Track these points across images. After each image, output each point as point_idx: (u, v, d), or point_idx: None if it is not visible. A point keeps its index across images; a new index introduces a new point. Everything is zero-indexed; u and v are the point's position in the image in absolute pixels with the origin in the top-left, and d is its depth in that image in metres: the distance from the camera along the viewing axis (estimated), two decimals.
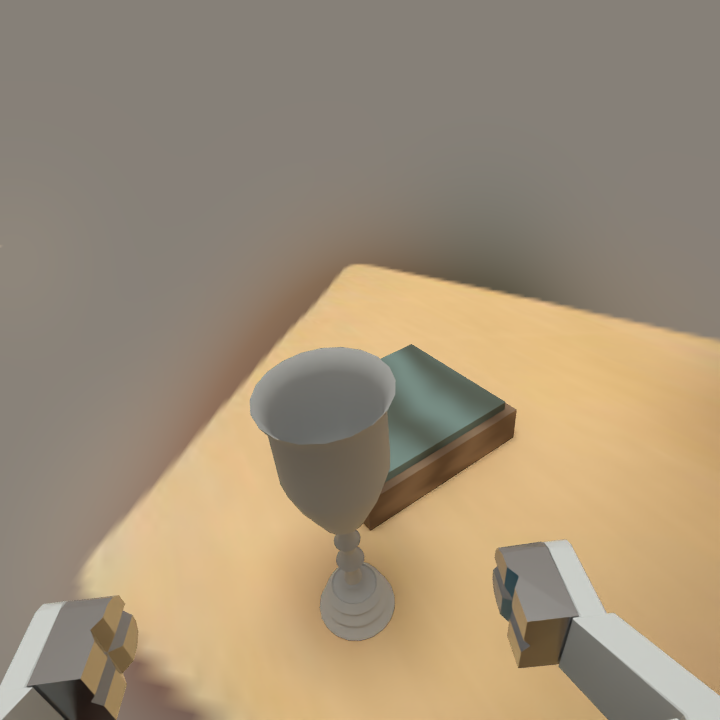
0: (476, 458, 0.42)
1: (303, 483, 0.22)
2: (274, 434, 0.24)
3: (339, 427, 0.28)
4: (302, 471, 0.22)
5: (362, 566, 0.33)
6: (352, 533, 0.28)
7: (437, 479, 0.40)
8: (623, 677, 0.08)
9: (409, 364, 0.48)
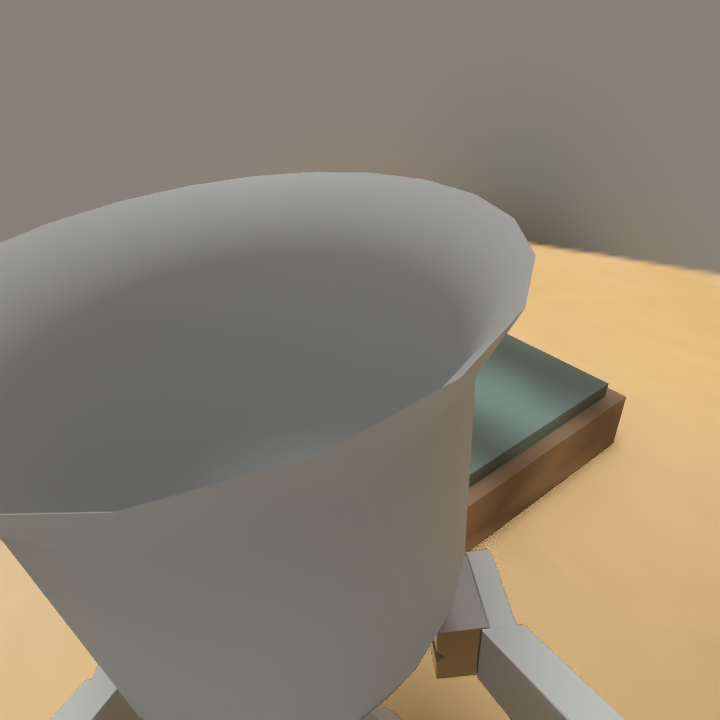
0: (559, 478, 0.25)
1: (114, 659, 0.05)
2: (72, 437, 0.07)
3: (312, 418, 0.11)
4: (89, 619, 0.04)
5: None
6: None
7: (498, 517, 0.23)
8: (526, 690, 0.08)
9: None
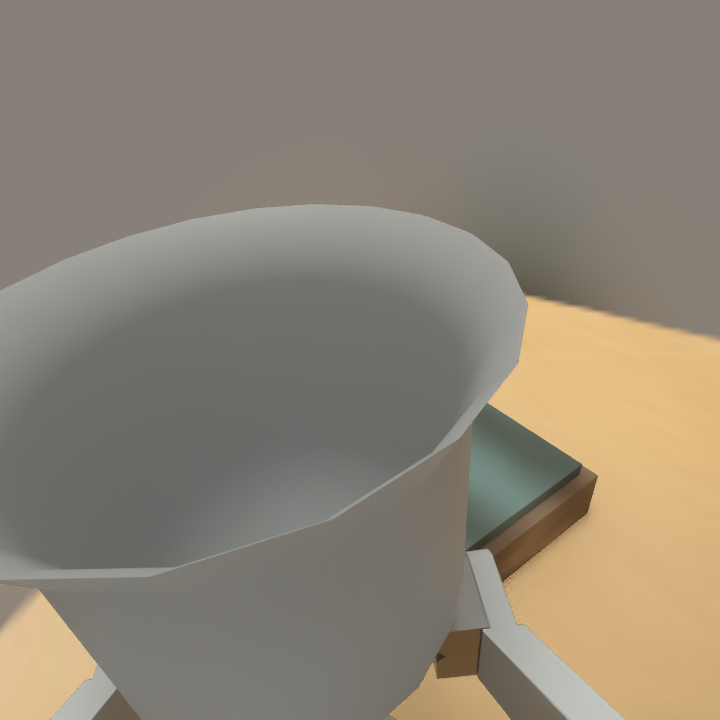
0: (537, 549, 0.28)
1: (134, 686, 0.05)
2: (86, 466, 0.07)
3: (315, 437, 0.11)
4: (112, 651, 0.05)
5: None
6: None
7: None
8: (526, 689, 0.08)
9: None
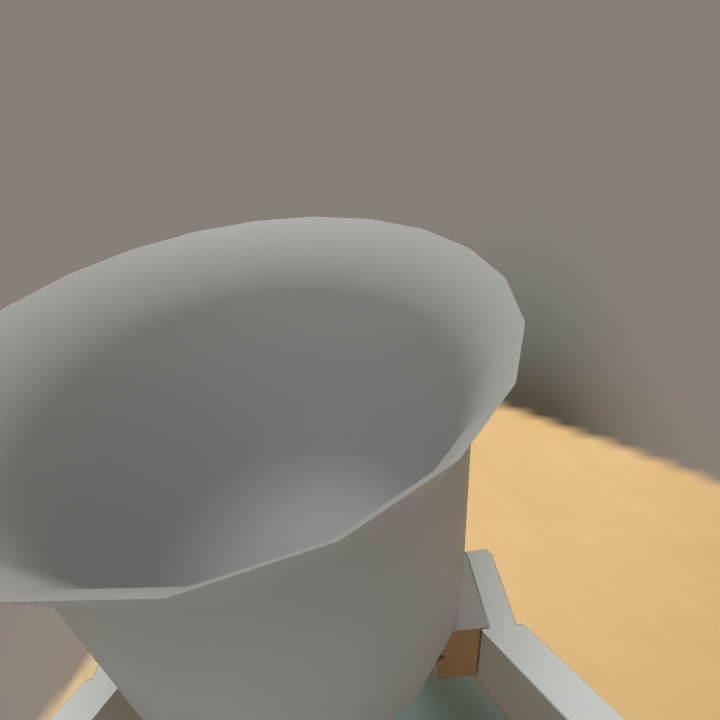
0: None
1: (143, 696, 0.05)
2: (91, 477, 0.07)
3: (315, 445, 0.11)
4: (123, 663, 0.05)
5: None
6: None
7: None
8: (526, 690, 0.08)
9: None
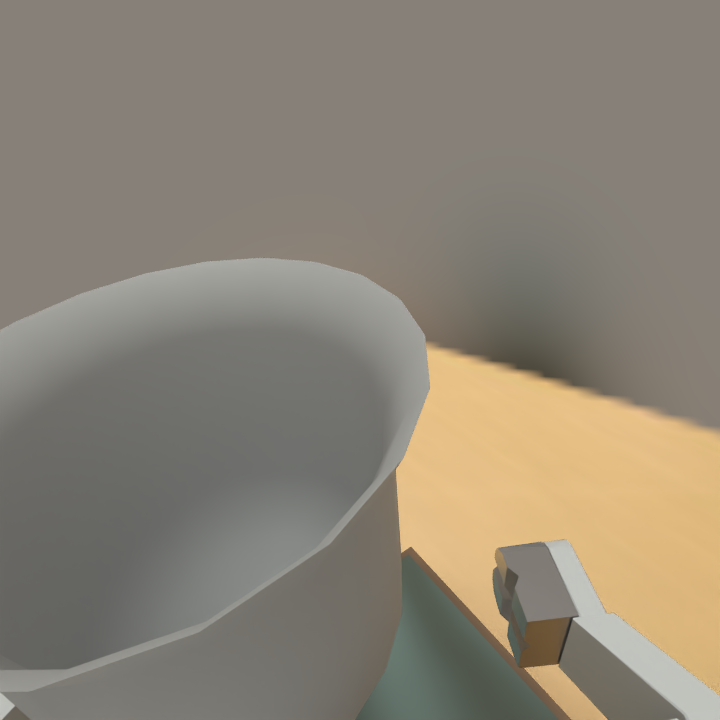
0: None
1: None
2: (38, 518, 0.08)
3: (274, 471, 0.12)
4: (41, 717, 0.05)
5: None
6: None
7: None
8: (623, 677, 0.08)
9: (402, 630, 0.21)
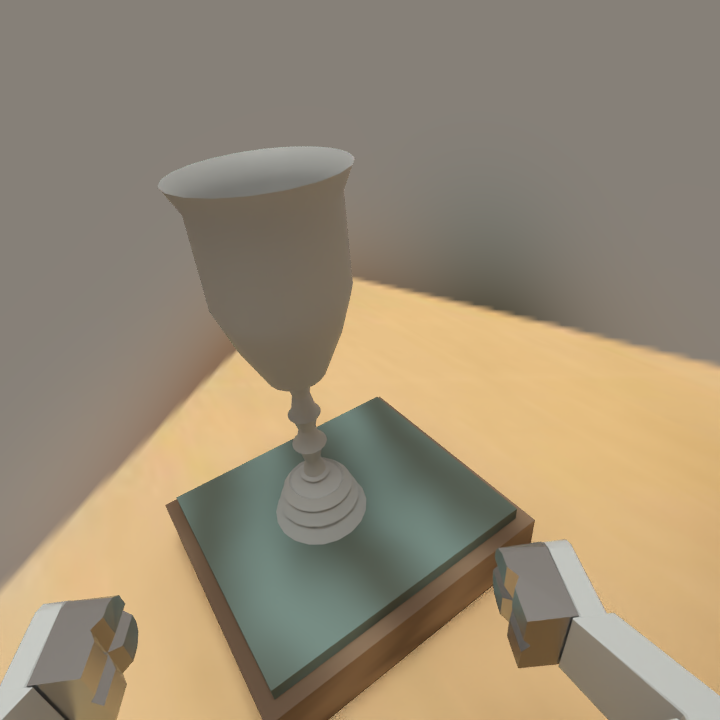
0: (469, 600, 0.26)
1: (230, 284, 0.17)
2: None
3: None
4: (227, 262, 0.16)
5: (327, 461, 0.27)
6: (309, 401, 0.23)
7: (402, 648, 0.24)
8: (623, 677, 0.08)
9: (370, 432, 0.32)
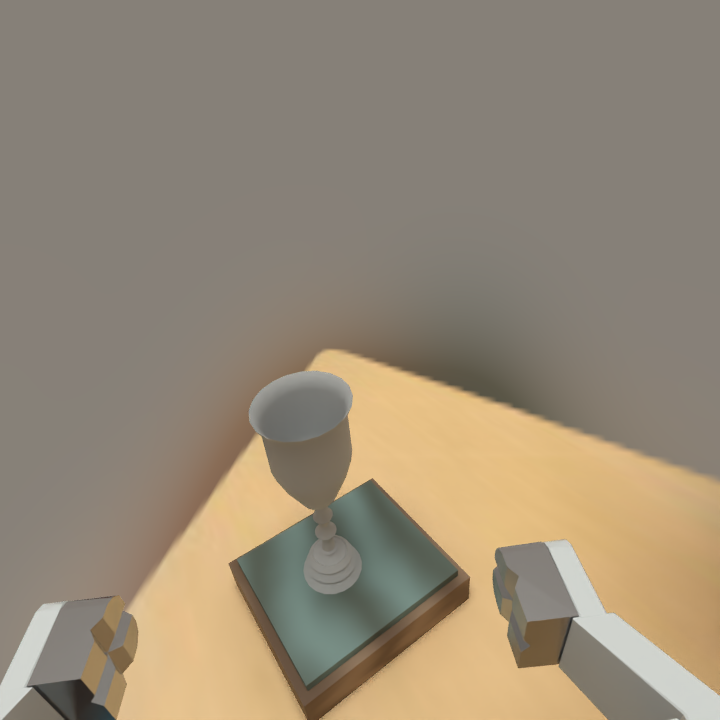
0: (427, 629, 0.41)
1: (287, 469, 0.32)
2: (266, 435, 0.34)
3: (316, 429, 0.37)
4: (286, 461, 0.31)
5: (336, 538, 0.42)
6: (326, 510, 0.38)
7: (383, 660, 0.38)
8: (623, 677, 0.08)
9: (365, 509, 0.47)
